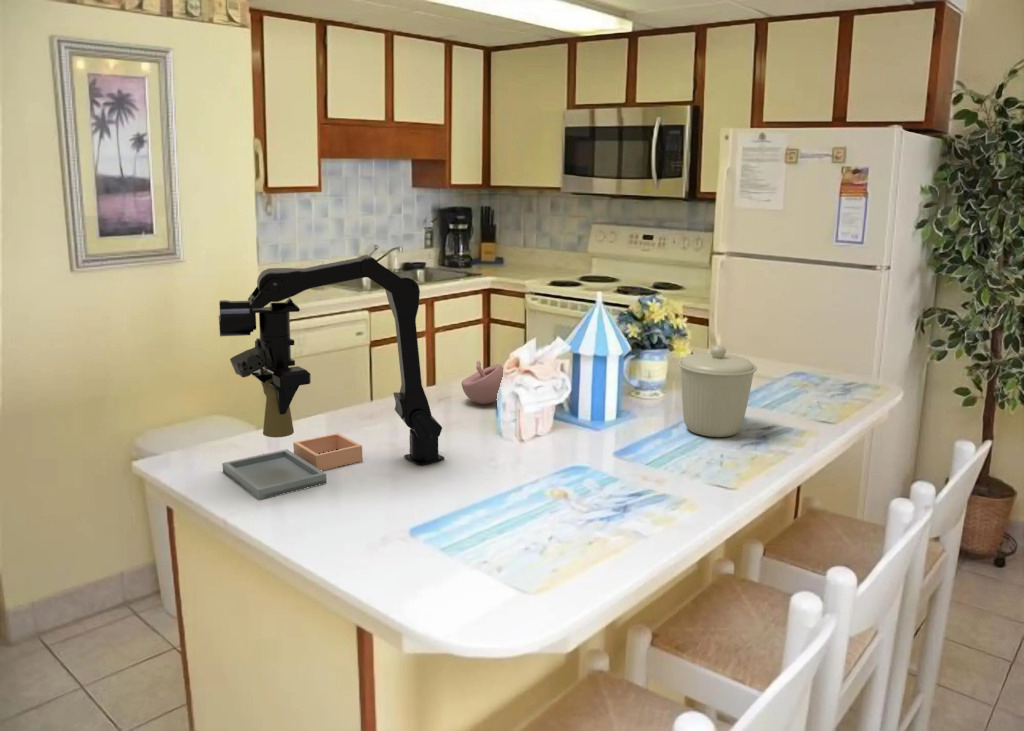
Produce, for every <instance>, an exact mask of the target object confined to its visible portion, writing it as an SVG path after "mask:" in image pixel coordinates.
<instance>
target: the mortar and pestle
mask: <svg viewBox="0 0 1024 731" xmlns="http://www.w3.org/2000/svg"><path fill="white" fill-rule="evenodd" d="M481 364H482V363H481V361H480V360H477V361H476V366H475V367H476V370H477V372H474V373H473V374H471V375H469V376H468V377H466V378H464V379H463V380H461V387H462V391H463V393H464V394H465V395H466V397H467V398H468V399H469V401H470V400H471V401H472V402H473V403H476V404H480V405H489V404H493V403H495V402H497V401H496V399H497V393H498V390H499V387H500V383H501V380H502V377H503V369H504V367H503V366H502V365H501V363H496V364H492V365H491V366H487V367H486V368H483V369H482V366H481Z"/></svg>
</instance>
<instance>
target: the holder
mask: <svg viewBox="0 0 1024 731" xmlns="http://www.w3.org/2000/svg"><path fill="white" fill-rule="evenodd" d="M336 449H338V450H336ZM331 450H333V451H331ZM328 451H329V452H328ZM323 452H324V453H323ZM293 453H294V454H295V455H297V456H299V457H300V458H302V459H303V460H305V461H307V462H308V463H310V464H311V465H313V466H315V467H316V468H318V469H319V470H324V471H327V470H326V469H328V470H332V469H335V467H336V468H339V467H338V466H341V467H343V466H342V465H345V466H348V465H347V464H349V465H352V464H351V463H353V464H356V462H357V463H360V462H359V461H362V462H363V445H362V444H360V443H358V442H356V441H354V440H353V439H350V438H348V437H347V436H345V435H343V434H341V433H339V432H335V433H331V434H327V435H326V434H325V435H321V436H317V437H312V438H308V439H303V440H299V441H293ZM319 453H320V454H319ZM331 468H332V469H331Z"/></svg>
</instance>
